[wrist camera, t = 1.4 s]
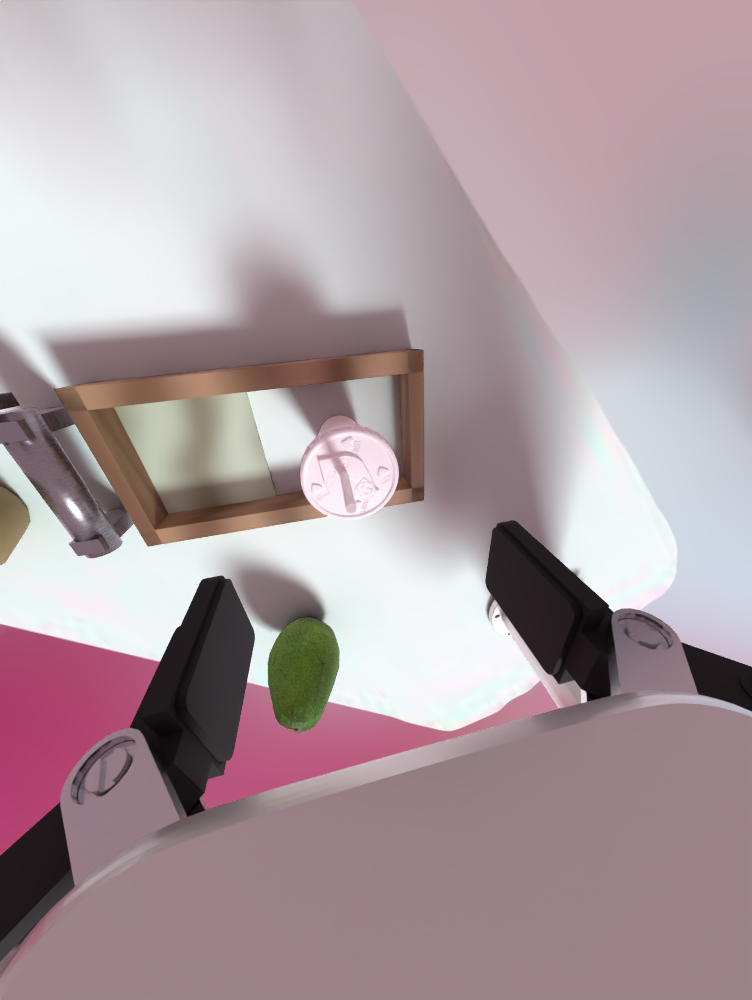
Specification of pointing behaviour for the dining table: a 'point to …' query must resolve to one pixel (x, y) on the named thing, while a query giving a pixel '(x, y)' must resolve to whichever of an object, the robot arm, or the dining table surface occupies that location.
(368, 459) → the smoothie
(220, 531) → the bay
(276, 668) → the avocado
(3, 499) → the squeeze bottle
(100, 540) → the grey metal handle
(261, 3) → the dining table surface
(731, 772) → the robot arm
